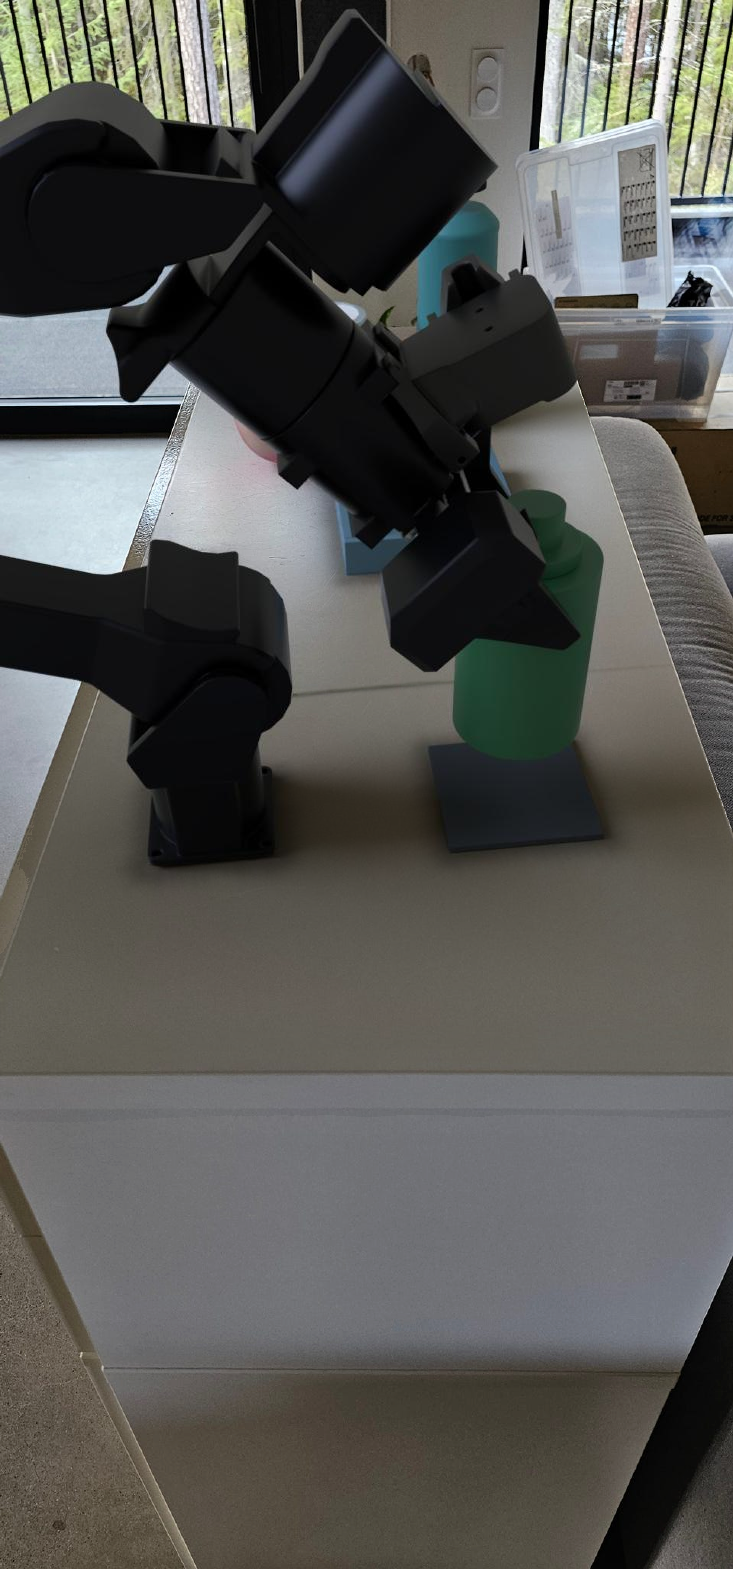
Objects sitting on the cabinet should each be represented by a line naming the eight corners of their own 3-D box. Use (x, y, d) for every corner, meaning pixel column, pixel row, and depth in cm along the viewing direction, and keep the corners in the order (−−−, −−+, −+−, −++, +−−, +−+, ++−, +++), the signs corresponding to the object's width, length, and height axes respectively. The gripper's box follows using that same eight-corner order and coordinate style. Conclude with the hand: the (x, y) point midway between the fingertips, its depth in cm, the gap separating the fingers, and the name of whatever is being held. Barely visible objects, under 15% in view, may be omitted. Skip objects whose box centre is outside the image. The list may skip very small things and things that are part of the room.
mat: (604, 838, 56) (605, 833, 56) (449, 853, 56) (449, 847, 56) (568, 738, 62) (569, 733, 62) (428, 750, 62) (428, 745, 61)
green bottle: (503, 777, 52) (523, 556, 44) (427, 707, 56) (433, 493, 48) (606, 730, 55) (643, 513, 47) (526, 666, 59) (547, 456, 51)
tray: (522, 566, 76) (525, 528, 74) (346, 580, 75) (344, 542, 73) (488, 477, 85) (490, 441, 83) (332, 488, 85) (330, 453, 83)
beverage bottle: (488, 440, 90) (501, 168, 77) (408, 435, 91) (407, 166, 78) (497, 406, 95) (511, 145, 81) (421, 402, 96) (422, 143, 82)
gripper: (502, 304, 32) (779, 597, 40) (419, 148, 46) (638, 390, 54) (258, 556, 37) (549, 772, 45) (249, 347, 51) (473, 542, 59)
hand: (555, 600), depth 51 cm, fingers closed on green bottle, 6 cm apart
